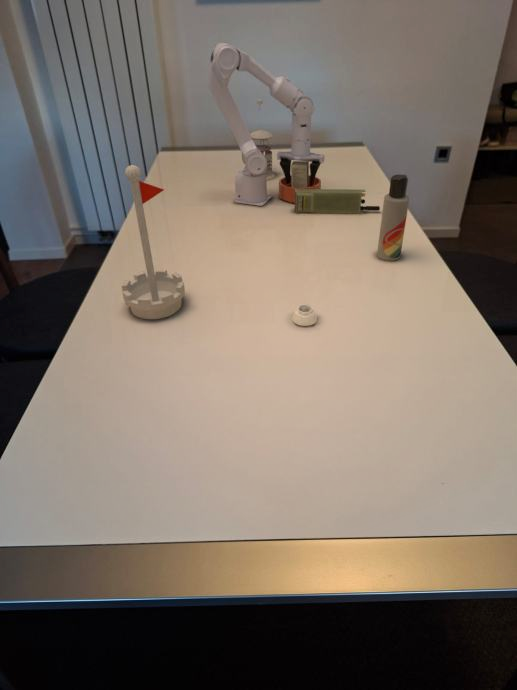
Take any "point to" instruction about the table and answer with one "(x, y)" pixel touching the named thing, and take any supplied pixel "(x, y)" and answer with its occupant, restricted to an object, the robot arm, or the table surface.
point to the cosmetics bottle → (300, 174)
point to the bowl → (289, 192)
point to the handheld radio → (331, 201)
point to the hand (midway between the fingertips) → (299, 184)
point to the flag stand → (150, 265)
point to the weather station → (264, 147)
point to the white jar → (304, 315)
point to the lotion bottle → (393, 219)
